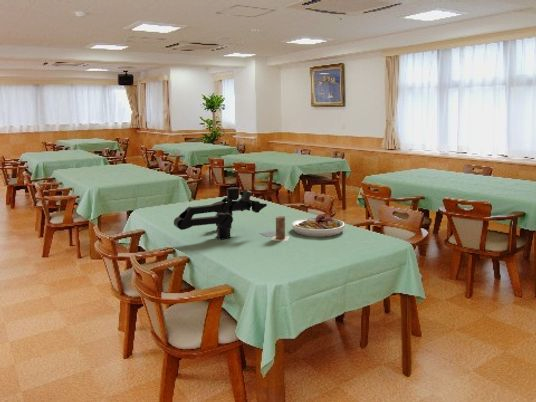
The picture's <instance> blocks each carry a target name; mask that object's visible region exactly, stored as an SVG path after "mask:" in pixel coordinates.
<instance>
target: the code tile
mask: <svg viewBox="0 0 536 402" xmlns="http://www.w3.org/2000/svg"><path fill="white" fill-rule="evenodd" d="M289 239H290V236H288V235H287V236H286V235H285V239H284V240H280V239H276V236H272V238H271V241H275V242H276V241H278V242H281V241H284V242H287V241H288V242H289Z"/></svg>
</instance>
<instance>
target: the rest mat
mask: <svg viewBox="0 0 536 402" xmlns="http://www.w3.org/2000/svg"><path fill="white" fill-rule="evenodd" d="M259 234H260V235H262V236H264V237H267V238H270V237H273V236H276V231H267V232H260V233H259Z"/></svg>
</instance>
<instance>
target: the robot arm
mask: <svg viewBox="0 0 536 402" xmlns="http://www.w3.org/2000/svg"><path fill="white" fill-rule="evenodd" d="M251 196H252V191H250V190H246V189H243V190H241V191H240V188H239V187H237V186H235V187H234V186H232V187H231V186H230V187H228V188H226V197H225V196H224V197H223V198H222V200H219V201H216V202H213V203H212V204H205V205H204V204H203V205H197V206H196V205H195V206H188V207H187V208H185V210H184V211H182V212H181V213H180V214H179V215H178V216H177V217H175V219H174V220H173V225H174V226H175V227H176V228H178V230H180V231H185V230H187V229H189V228H192V227H199V226H207V225H215V226H216V236H215V238H217V239H219V240H226V239H231V238H232V237H231V229H229V228H230V226H231V223H232V224H233V222H234V217H233V215H232V213H233V212H239V211H240V212H244V211H252V212H253V213H256V214H259V213H260V211H261V210H263V209H265V207H267V206H268V205H267V203H261V202H260V201H259V200H253V199H251ZM239 198H240V199H239ZM208 213H217V215H216V214H215V215H216V216H215V215H214V216H213V215H212V216H203V217H202V216H201V217H194V216H195V215H200V214H208ZM227 213H228V214H227ZM229 214H230V215H229ZM231 215H232V216H231ZM217 226H218V227H217Z"/></svg>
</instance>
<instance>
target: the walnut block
mask: <svg viewBox="0 0 536 402" xmlns="http://www.w3.org/2000/svg"><path fill="white" fill-rule="evenodd" d="M275 232H276V239H280V240H284V239H285V236H286V216H285V215H277V216H275Z"/></svg>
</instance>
